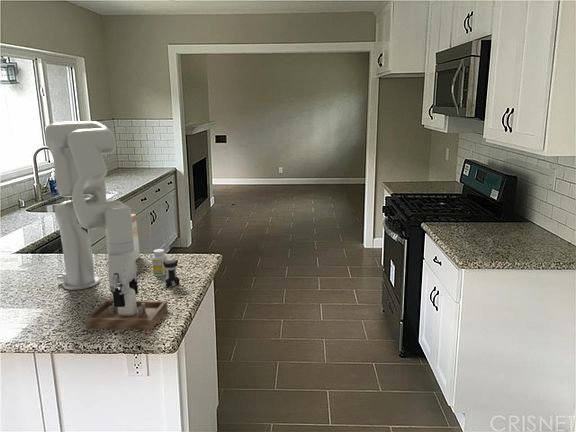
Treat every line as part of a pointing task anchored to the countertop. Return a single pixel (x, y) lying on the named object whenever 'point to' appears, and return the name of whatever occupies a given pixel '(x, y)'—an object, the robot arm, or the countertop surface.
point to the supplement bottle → (159, 262)
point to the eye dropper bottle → (128, 302)
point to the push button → (171, 272)
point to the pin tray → (142, 320)
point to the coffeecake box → (135, 234)
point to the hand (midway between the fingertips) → (126, 300)
